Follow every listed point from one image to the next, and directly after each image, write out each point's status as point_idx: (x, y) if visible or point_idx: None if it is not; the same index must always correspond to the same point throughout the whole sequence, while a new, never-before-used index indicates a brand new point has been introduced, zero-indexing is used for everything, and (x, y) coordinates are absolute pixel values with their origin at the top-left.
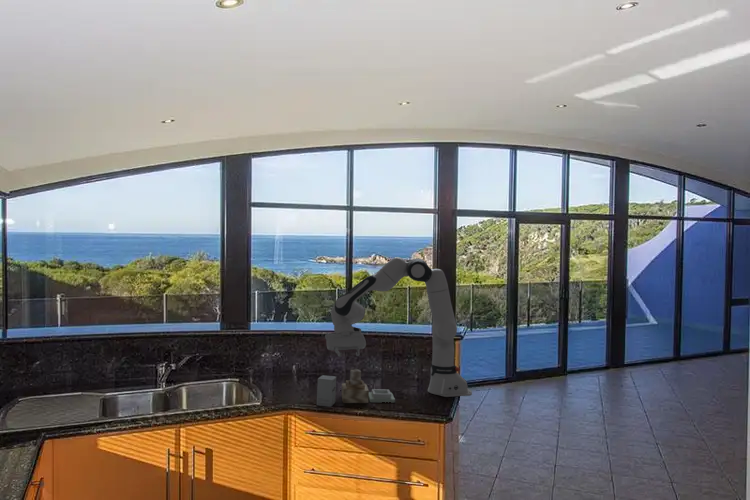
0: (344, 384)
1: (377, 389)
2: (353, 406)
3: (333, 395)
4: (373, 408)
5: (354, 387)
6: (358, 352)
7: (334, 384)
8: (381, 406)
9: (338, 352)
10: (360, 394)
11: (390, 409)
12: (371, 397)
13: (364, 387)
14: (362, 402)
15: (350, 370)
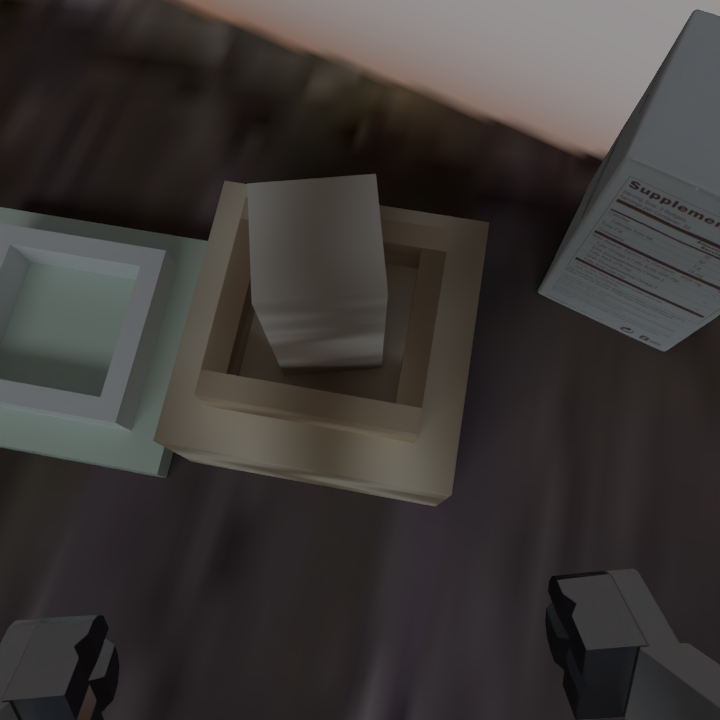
0: (428, 446)
1: (56, 405)
2: (399, 178)
3: (595, 177)
4: (253, 111)
5: None
6: (18, 664)
7: (628, 126)
8: (170, 146)
9: (675, 642)
10: None
11: (131, 73)
12: (186, 294)
13: None
14: None
15: (387, 292)
